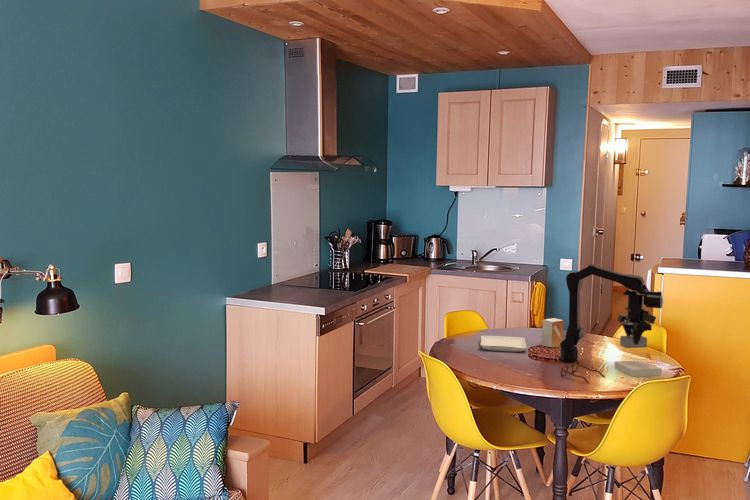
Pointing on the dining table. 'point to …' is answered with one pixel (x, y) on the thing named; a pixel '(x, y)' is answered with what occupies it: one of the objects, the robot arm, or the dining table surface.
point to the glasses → (576, 369)
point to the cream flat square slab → (503, 343)
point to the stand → (637, 368)
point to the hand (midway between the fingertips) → (633, 342)
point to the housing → (633, 342)
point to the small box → (552, 332)
